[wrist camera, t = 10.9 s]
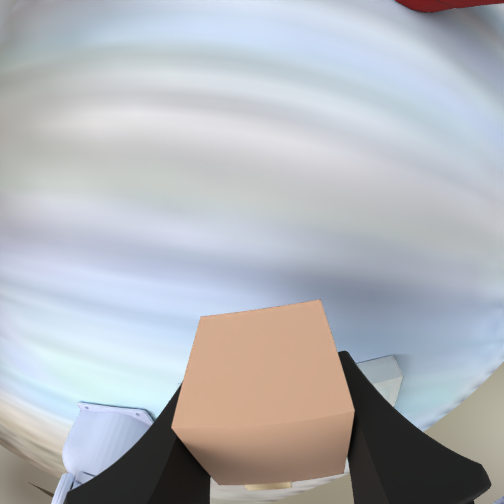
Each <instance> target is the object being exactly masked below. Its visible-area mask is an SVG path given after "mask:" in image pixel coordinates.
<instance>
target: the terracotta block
mask: <svg viewBox="0 0 504 504" xmlns="http://www.w3.org/2000/svg"><path fill="white" fill-rule="evenodd" d="M354 412H355V410H354V407H353V403H352V399H351V396H350V392H349V389H348V386H347V382H346V379H345V375H344V372H343V369H342V365H341V362H340V359H339V356H338V352H337V349H336V346H335V343H334V340H333V336H332V333H331V330H330V327H329V324H328V321H327V318H326V315H325V312H324V309H323V306H322V303H321V300H314V301H308V302H302V303H296V304H290V305H283V306H277V307H270V308H264V309H257V310H250V311H242V312H235V313H227V314H219V315H211V316H202V317H200V321H199V324H198V328H197V332H196V335H195V339H194V342H193V346H192V350H191V353H190V357H189V361H188V364H187V368H186V372H185V376H184V379H183V383H182V387H181V391H180V395H179V399H178V403H177V407H176V411H175V415H174V419H173V423H172V427H171V428H172V429H173V430H174V432H175V433H176V434H177V436H178V437H179V438H180V440H181V441H182V442H183V443H184V445H185V446H186V447H187V449H188V450H189V451H190V452H191V454H192V455H193V456H194V457H195V458H196V460H197V461H198V462H199V463H200V464H201V466H202V467H203V468H204V469H205V470H206V471H207V472H208V474H209V475H210V476H211V477H212V478H213V479H214V480H215V481H216V482H217V484H218V485H256V484H273V483H284V482H294V481H302V480H309V479H316V478H322V477H328V476H333V475H338V474H343V473H344V469H345V464H346V459H347V454H348V449H349V443H350V437H351V431H352V425H353V419H354Z"/></svg>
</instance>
